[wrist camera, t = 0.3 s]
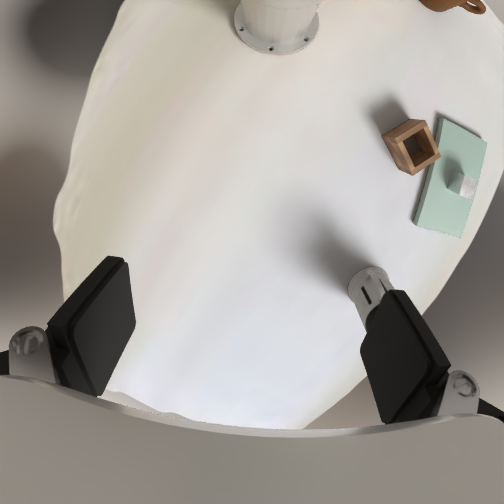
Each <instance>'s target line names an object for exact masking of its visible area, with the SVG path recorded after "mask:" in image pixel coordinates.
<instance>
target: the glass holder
mask: <svg viewBox="0 0 504 504" xmlns="http://www.w3.org/2000/svg"><path fill="white" fill-rule="evenodd" d="M390 289H393V290H395V289H394V287H393V286H392V284H391V283H390V281H389V277H388V274H387V273H386V272H385V271H384V270H383V269H381V268H379V267H368V268H365V269H363V270H361V271H359V272H358V273H357V274H355V275H354V276H353V278H352V279H351V281H350V283H349V286H348V295H349V298H350V299H351V300H352V302H354V303H355V306H356V308H357V310H358V313H359V315H360V318H361V320H362V322H363V325H364V327H365V330H366V332H367V331H368V329H369V327H370V325H371V323H372V320H373V318H374V316H375V313H376V311H377V309H378V306H379V304H380V301H381V299H382V296H383V294H384V293H387V292H388V291H389V290H390Z"/></svg>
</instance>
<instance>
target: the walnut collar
mask: <svg viewBox="0 0 504 504" xmlns="http://www.w3.org/2000/svg"><path fill="white" fill-rule="evenodd" d="M411 135H413V136H414V138H415V140H416V142H417V144H418V147H419V149H420V150H419V151H418V152H416V153H415V154H413V155H411V156H409V154H408V152H407V150H406V148H405V146H404V144H403V142H402V141H403V140H405V139H407V138H408V137H410V136H411ZM382 138H383V139H384V141H385V143H386V145H387V147H388V149H389V151H390V153H391V155H392V156H393V158H394V160H395V162H396V164H397V167H398V169H399V170H401V171H403V172H406V173H408V174H410V175H412V176H413V175H415V174H416V173H418V172H419V171H421V170H422V169H424V168H425V167H427V166H428V165H430V164H431V163H433V162H434V161H436V160H437V159H439V158H440V157H441V155H440V153H439V150H438V148H437V145H436V143H435V141H434V138H433V136H432V134H431V132H430V130H429V127H428V125H427V123H426V121H425V120H416V119H409V120H408V121H406V122H404V123H403V124H401V125H399V126H398V127H396V128H394V129H393V130H391V131H389V132H388V133H386V134H384V135H383V136H382Z"/></svg>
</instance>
